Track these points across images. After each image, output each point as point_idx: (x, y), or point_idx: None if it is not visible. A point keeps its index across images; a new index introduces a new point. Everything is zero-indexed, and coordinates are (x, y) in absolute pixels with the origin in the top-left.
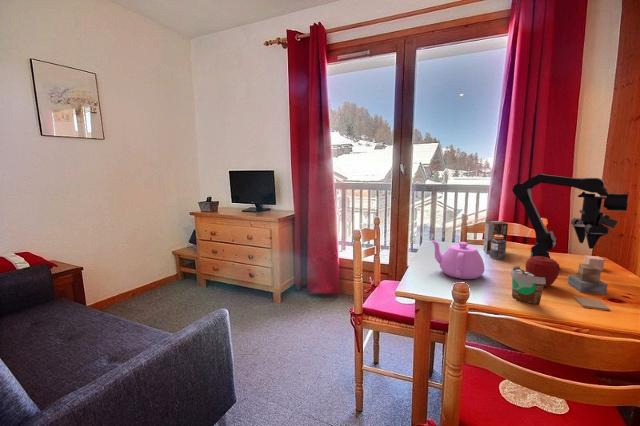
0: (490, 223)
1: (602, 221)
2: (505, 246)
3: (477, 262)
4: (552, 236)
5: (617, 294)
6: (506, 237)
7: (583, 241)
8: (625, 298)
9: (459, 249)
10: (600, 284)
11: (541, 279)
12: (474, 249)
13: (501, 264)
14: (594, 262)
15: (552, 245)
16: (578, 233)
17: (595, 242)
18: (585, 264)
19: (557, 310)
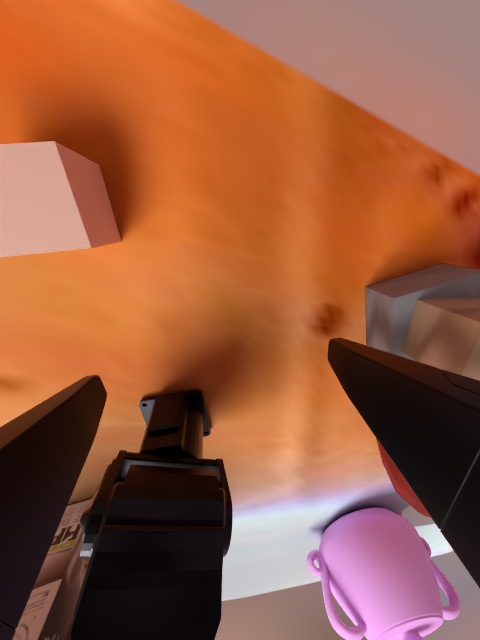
0: None
1: None
2: (79, 539)
3: (427, 564)
4: (160, 582)
5: (442, 224)
6: (52, 606)
7: (88, 384)
8: (476, 210)
9: (428, 630)
10: (477, 294)
11: None
12: (424, 619)
13: (239, 489)
14: (92, 215)
15: (225, 499)
16: (35, 545)
17: (421, 371)
18: (470, 366)
19: None
